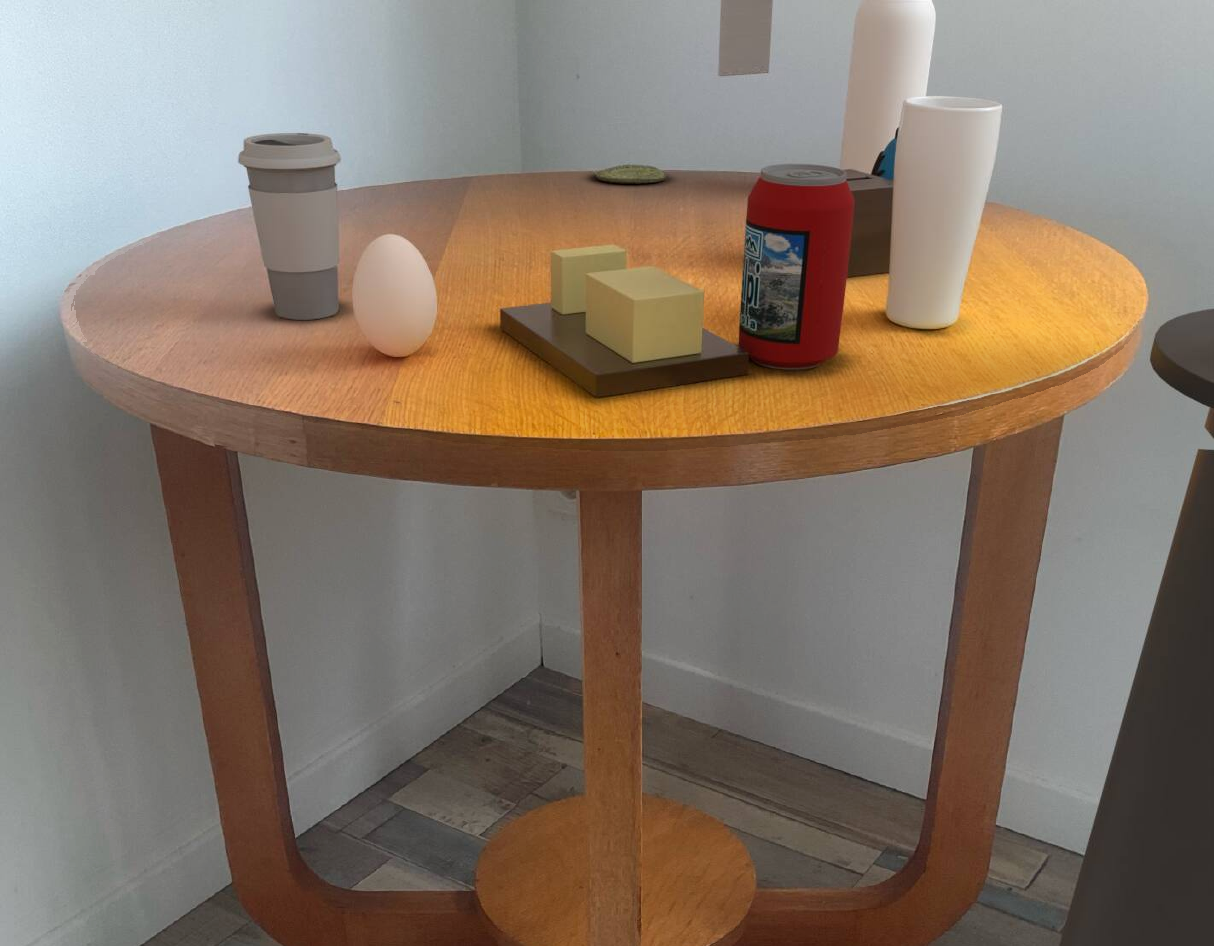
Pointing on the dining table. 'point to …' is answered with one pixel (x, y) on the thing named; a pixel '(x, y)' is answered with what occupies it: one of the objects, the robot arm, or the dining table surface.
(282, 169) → the cup
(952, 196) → the drinking glass
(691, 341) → the butter block
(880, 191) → the knife block
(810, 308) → the beverage can
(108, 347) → the dining table surface
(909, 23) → the bottle
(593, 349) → the board
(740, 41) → the knife
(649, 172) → the medallion
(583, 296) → the butter slice
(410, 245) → the egg
